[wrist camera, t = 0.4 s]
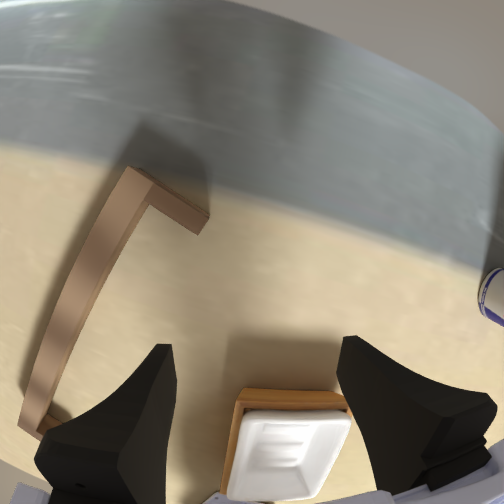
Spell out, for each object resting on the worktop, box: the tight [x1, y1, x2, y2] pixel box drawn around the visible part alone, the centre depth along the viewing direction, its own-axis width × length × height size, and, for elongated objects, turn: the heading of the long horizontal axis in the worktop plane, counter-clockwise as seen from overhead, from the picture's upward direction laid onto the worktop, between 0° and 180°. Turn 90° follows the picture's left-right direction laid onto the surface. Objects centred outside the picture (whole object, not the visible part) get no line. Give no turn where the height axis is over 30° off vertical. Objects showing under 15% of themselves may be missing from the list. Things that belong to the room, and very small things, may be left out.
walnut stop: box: [17, 166, 210, 442], centre depth 21 cm, size 26×6×3 cm, turn 145°
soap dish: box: [219, 388, 352, 501], centre depth 24 cm, size 12×10×5 cm
